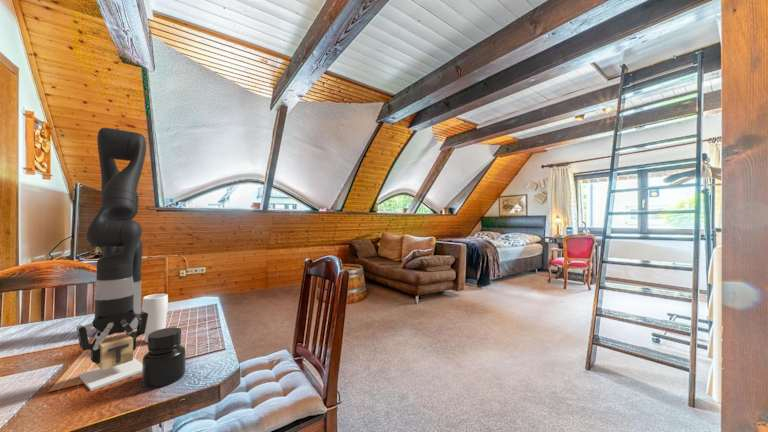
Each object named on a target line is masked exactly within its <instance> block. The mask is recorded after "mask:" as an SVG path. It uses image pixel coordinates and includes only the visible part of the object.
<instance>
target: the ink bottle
mask: <svg viewBox="0 0 768 432" xmlns="http://www.w3.org/2000/svg"><path fill="white" fill-rule="evenodd" d="M181 341H182V329H181V328H180V327H176V326H174V327H166V328H164V329H160V330H157V331H154V332H152V333H150V334H149V335H148V343H147V353H146V354H145V355H144V356H143V357H142V362H141V363H142V372H141V380H142V381H141V384H142V385H143V386H144V387H146V388H150V389H151V388H161V387H163V386H164V387H165V386H166V385H169V384H173V383H174V382H177V381H179V379H181V378H183V377H184V375H185V374H186V356H187V355H186V348H185V347H184V345H181V343H182V342H181Z"/></svg>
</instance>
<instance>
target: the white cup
mask: <svg viewBox="0 0 768 432" xmlns="http://www.w3.org/2000/svg"><path fill="white" fill-rule="evenodd" d="M168 309H169V295H168V293H153V294H149V295H145V296H143V297H142V300H141V312H142V311H144V312H146V313H148V318H147V323H146V329H145V333H144V342H145V343H146V344H148V335H149V334H150V333H152V332H154V331H157V330H160V329H164V328H167V327H166V326H167V318H168Z"/></svg>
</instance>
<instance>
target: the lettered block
mask: <svg viewBox="0 0 768 432" xmlns="http://www.w3.org/2000/svg"><path fill="white" fill-rule="evenodd" d="M99 349H100V363H99V364H95V365H96V366H97V368H100V369H101V370H105V369H108V368H111V367H114V366H117V365H120V364H123V363H126V362H129V361H132V360H133V357H134V350H133V338H132V337H130V336H129V335H127V334H126V333H125V332H124V333H121V334H116V335H114V336H109V337H106V338H105V340H104V341H103V342H102V344H101V345H100V347H99Z"/></svg>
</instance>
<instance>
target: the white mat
mask: <svg viewBox="0 0 768 432" xmlns="http://www.w3.org/2000/svg"><path fill="white" fill-rule="evenodd" d="M140 373H141V374H142V362H141V361H139V360H138V359H137V358H135V357H134V356H133V360H132V361H129V362H126V363H123V364H120V365H117V366H114V367H111V368H108V369H105V370H101V369H100V368H99V367H97V368H95V369H90V370H88V371H85V372H82V373H79V374H78V378H79V379H80V380H81V381H82V382H83V384H84V385H85V386H86V387H87V388H88V390H89V391H90V392H92V391H95V390H96V389H100V388H103V387H106V386H108V385H111V384H114V383H116V382H119V381H121V380H125V379H126V378H131V377H133V376H135V375H138V374H140Z"/></svg>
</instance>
